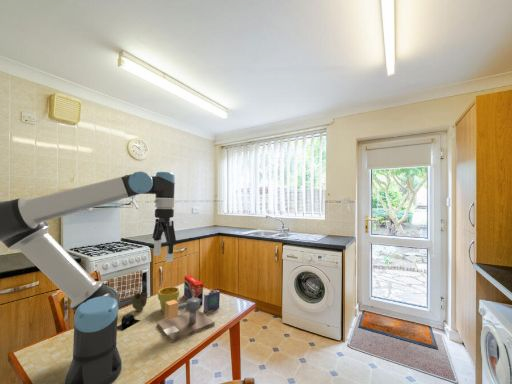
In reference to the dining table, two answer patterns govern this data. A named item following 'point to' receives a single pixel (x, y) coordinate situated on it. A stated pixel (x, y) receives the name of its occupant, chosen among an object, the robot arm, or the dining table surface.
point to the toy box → (193, 288)
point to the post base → (185, 325)
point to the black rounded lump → (127, 322)
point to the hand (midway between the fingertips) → (163, 258)
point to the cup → (139, 301)
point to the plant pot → (167, 295)
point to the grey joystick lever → (180, 307)
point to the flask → (211, 300)
